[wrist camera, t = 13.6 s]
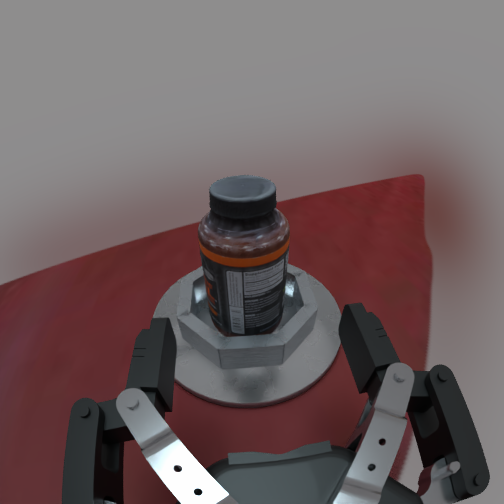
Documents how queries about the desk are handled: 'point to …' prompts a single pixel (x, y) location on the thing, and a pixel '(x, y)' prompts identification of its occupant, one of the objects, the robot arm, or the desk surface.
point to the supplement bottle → (244, 256)
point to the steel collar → (252, 344)
